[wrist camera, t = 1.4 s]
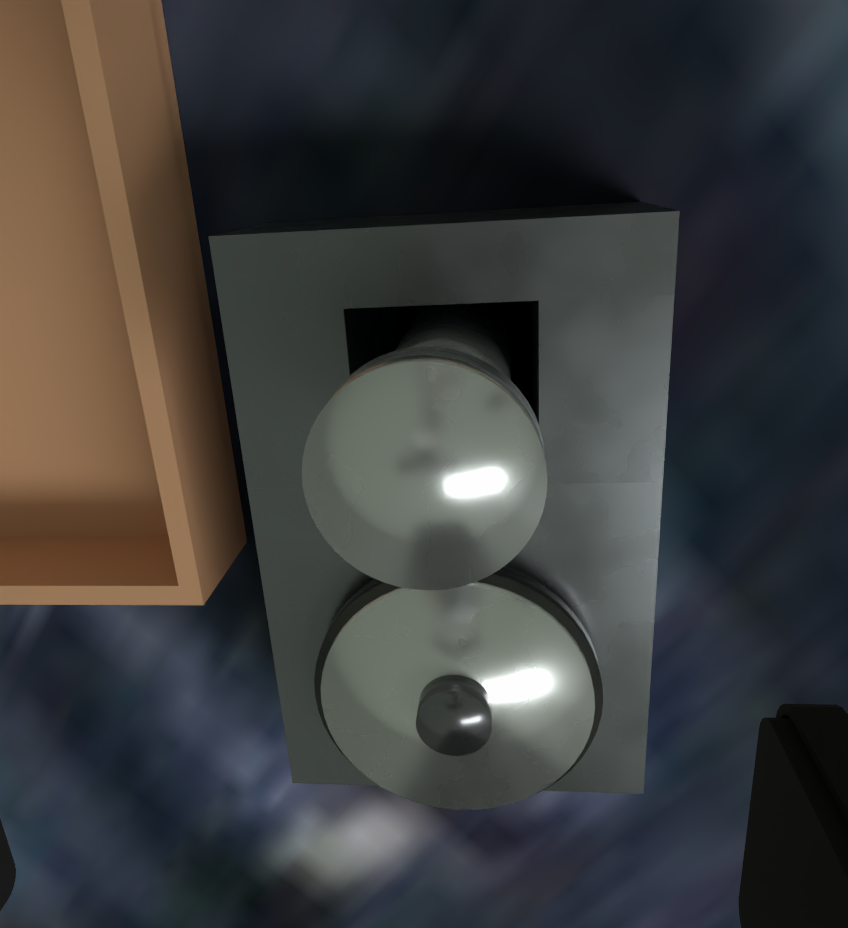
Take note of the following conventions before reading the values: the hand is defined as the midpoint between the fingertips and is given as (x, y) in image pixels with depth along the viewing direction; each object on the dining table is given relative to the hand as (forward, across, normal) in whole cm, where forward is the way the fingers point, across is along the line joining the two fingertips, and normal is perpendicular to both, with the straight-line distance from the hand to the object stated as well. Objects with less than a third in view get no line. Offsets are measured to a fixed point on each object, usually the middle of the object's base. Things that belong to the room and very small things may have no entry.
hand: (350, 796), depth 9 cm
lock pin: (+21, 0, -1) cm, 21 cm away
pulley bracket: (+21, 0, +4) cm, 21 cm away
